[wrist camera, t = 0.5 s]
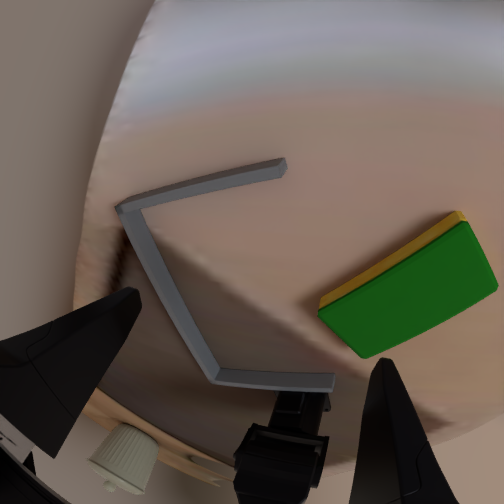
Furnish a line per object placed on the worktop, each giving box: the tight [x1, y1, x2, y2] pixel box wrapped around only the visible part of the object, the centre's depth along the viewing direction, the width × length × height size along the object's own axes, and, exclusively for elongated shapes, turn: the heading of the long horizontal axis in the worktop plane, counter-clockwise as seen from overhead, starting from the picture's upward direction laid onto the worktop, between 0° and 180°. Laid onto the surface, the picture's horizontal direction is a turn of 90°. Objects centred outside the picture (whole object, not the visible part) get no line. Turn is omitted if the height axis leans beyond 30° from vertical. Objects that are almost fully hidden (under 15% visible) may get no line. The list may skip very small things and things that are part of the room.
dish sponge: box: [318, 211, 499, 359], centre depth 22 cm, size 7×14×2 cm, turn 138°
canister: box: [86, 424, 159, 495], centre depth 62 cm, size 18×18×21 cm
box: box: [115, 158, 335, 392], centre depth 28 cm, size 24×15×2 cm, turn 18°
